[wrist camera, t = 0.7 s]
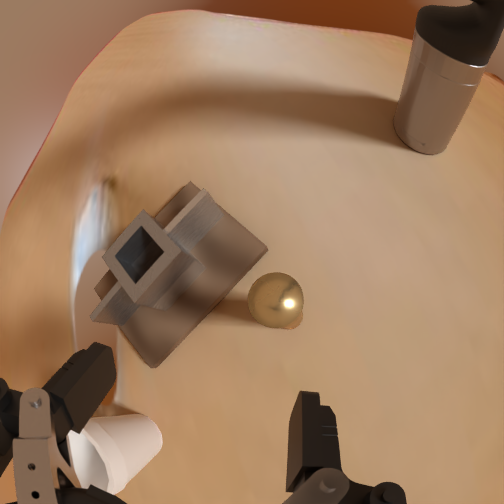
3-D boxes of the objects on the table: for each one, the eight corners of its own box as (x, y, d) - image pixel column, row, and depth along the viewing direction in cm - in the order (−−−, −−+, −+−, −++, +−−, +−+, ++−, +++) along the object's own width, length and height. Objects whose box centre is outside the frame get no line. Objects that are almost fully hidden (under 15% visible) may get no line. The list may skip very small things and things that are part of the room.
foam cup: (113, 450, 30) (50, 474, 18) (115, 394, 32) (44, 405, 20) (172, 473, 28) (117, 515, 16) (176, 414, 30) (113, 442, 18)
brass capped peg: (288, 293, 32) (274, 261, 19) (312, 314, 31) (315, 297, 18) (266, 316, 32) (236, 301, 19) (289, 338, 31) (276, 339, 18)
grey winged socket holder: (203, 197, 36) (182, 168, 30) (241, 230, 34) (225, 204, 27) (107, 304, 35) (72, 295, 28) (136, 344, 32) (100, 342, 26)
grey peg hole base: (194, 186, 39) (190, 181, 37) (268, 250, 34) (266, 246, 33) (100, 290, 37) (94, 288, 36) (156, 367, 33) (150, 368, 31)
